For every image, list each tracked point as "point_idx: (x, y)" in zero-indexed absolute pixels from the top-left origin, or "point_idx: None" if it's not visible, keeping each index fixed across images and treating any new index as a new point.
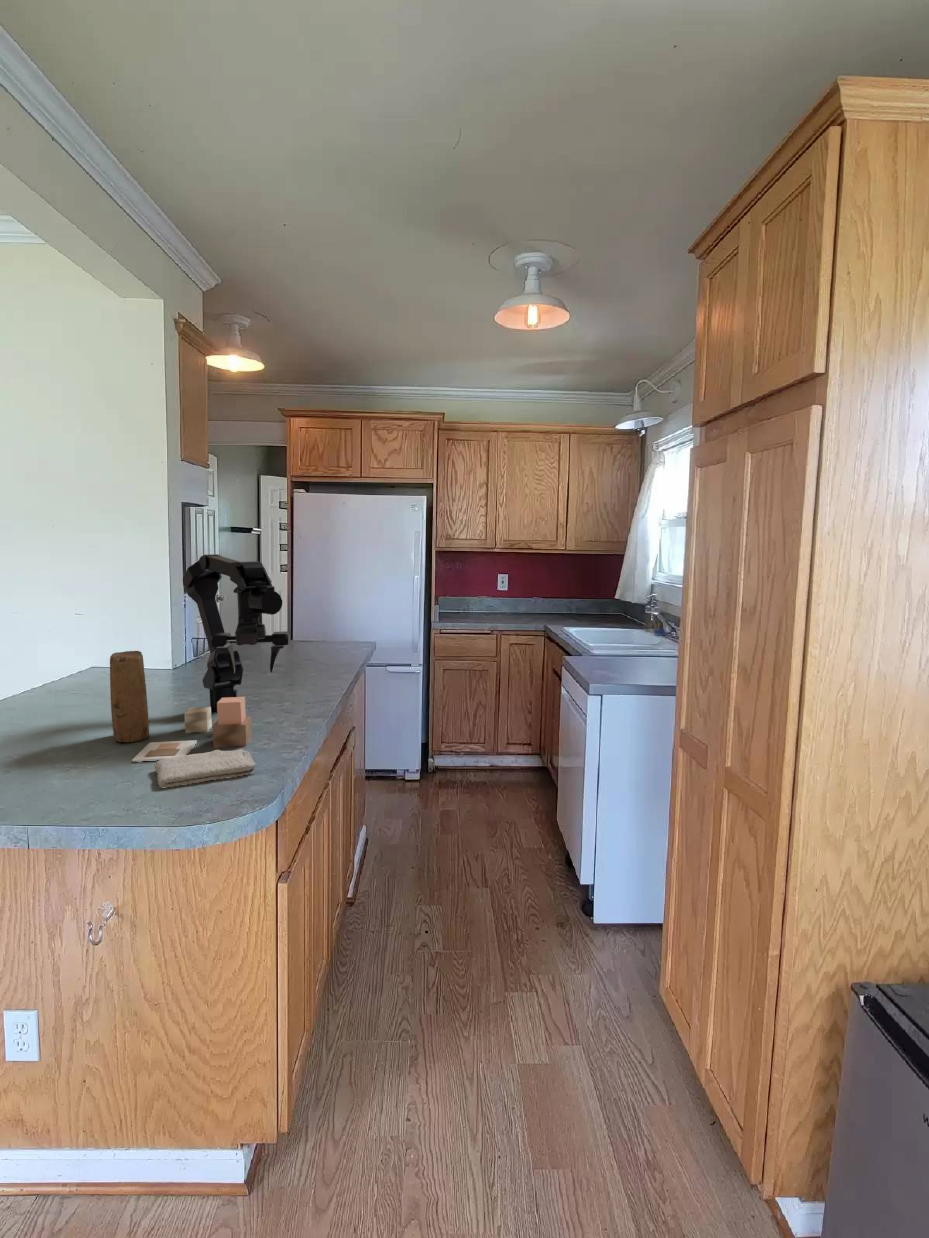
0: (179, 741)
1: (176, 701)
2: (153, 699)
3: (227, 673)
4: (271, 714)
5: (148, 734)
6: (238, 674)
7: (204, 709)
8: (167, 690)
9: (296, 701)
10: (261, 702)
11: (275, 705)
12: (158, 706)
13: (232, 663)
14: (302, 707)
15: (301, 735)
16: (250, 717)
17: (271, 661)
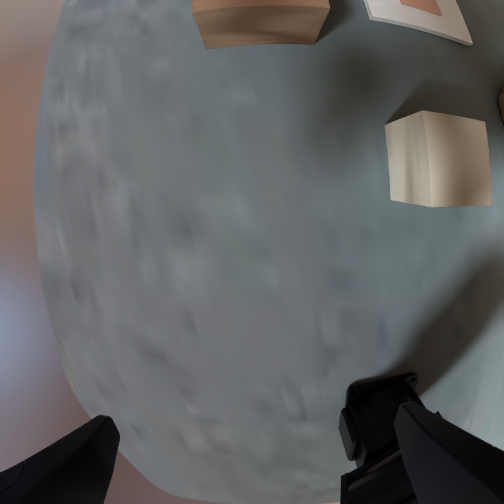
0: (413, 22)
1: None
2: (489, 432)
3: (407, 474)
4: (206, 340)
5: (502, 98)
6: (357, 492)
7: (442, 158)
8: None
9: (177, 450)
10: (276, 454)
11: (225, 430)
12: (495, 396)
13: (449, 451)
14: (134, 398)
15: (63, 77)
16: (192, 2)
17: (50, 463)
